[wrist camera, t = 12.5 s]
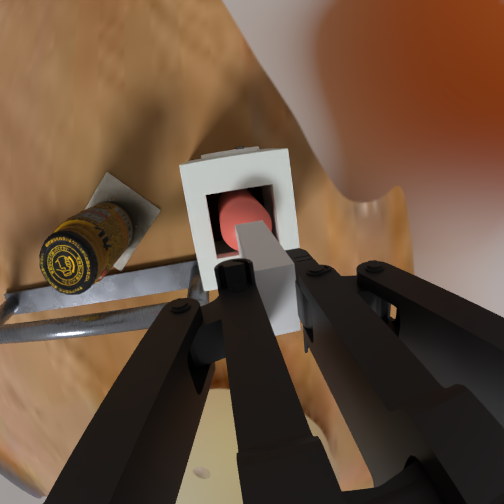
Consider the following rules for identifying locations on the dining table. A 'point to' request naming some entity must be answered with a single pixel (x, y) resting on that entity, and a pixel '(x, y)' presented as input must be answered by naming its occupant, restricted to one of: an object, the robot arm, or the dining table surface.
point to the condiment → (96, 238)
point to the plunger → (239, 213)
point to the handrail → (104, 290)
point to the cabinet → (233, 178)
